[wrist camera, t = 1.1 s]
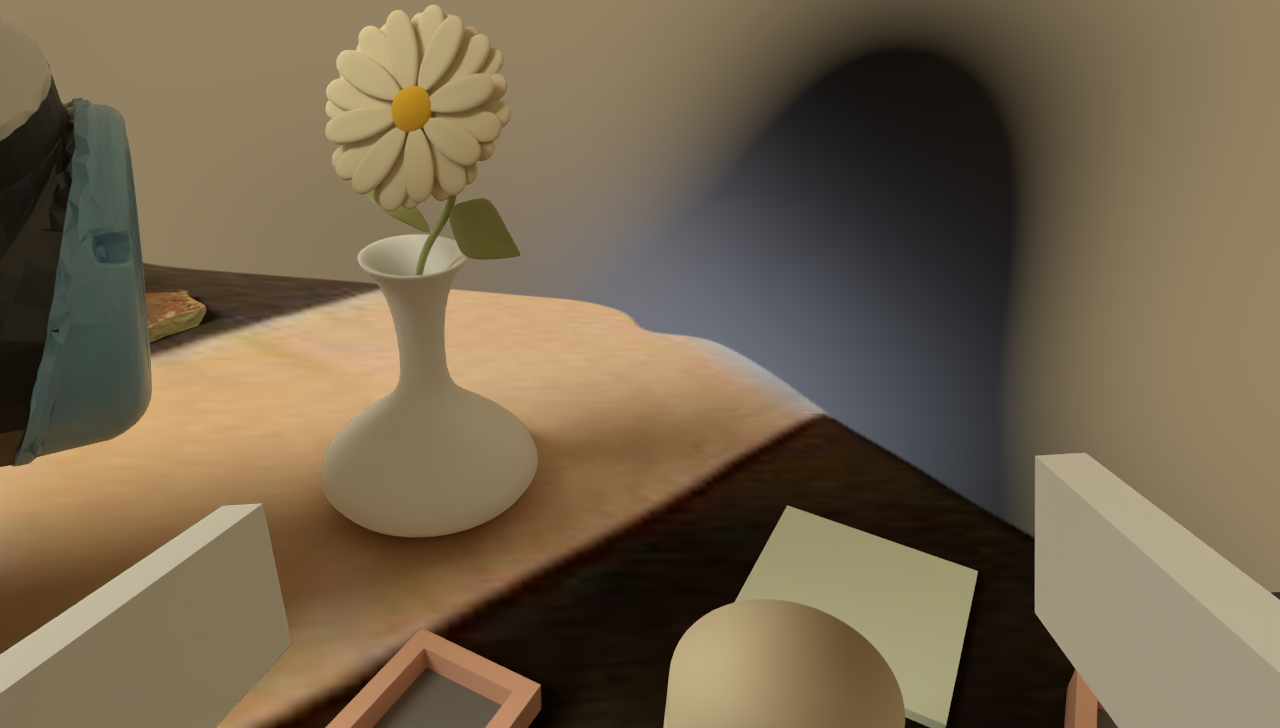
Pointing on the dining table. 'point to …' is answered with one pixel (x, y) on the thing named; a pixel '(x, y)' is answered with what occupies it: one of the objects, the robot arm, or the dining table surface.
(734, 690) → the birch canister
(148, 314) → the shard
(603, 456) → the dining table surface
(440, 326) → the flower in vase
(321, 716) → the dining table surface
